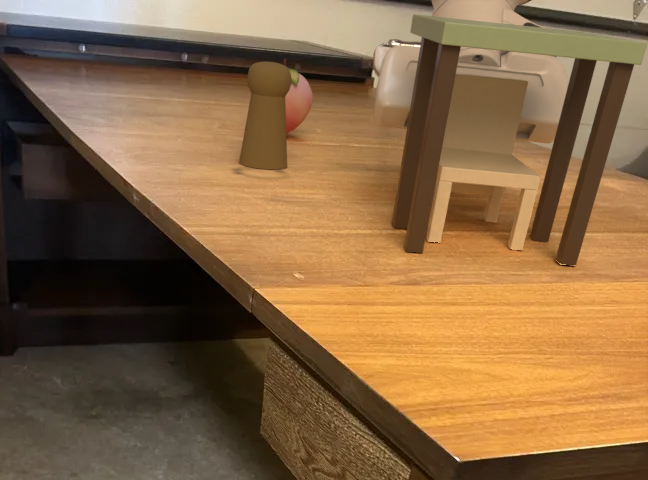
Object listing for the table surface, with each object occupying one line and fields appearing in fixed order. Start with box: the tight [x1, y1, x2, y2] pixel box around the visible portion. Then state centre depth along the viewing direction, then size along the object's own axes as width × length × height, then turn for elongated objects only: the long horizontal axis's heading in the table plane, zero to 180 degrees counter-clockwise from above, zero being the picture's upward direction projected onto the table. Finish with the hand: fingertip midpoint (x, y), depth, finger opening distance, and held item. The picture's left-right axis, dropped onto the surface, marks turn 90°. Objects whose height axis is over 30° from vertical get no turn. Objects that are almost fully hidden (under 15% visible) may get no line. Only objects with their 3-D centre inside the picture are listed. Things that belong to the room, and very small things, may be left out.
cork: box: [238, 61, 292, 170], centre depth 98 cm, size 6×6×11 cm
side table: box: [391, 13, 648, 266], centre depth 74 cm, size 16×16×18 cm
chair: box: [425, 73, 542, 251], centre depth 78 cm, size 9×12×13 cm
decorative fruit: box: [283, 58, 314, 135], centre depth 117 cm, size 9×8×10 cm
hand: (468, 165), depth 84 cm, fingers closed, pressing on chair
